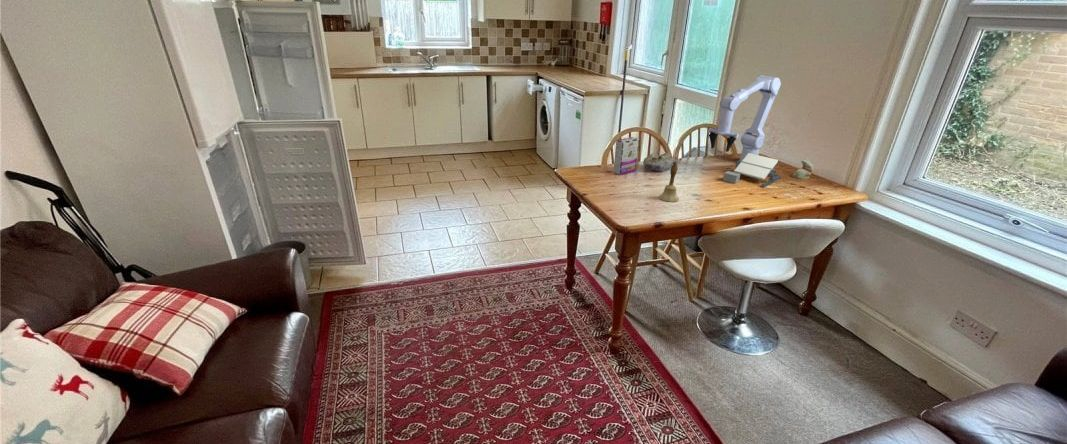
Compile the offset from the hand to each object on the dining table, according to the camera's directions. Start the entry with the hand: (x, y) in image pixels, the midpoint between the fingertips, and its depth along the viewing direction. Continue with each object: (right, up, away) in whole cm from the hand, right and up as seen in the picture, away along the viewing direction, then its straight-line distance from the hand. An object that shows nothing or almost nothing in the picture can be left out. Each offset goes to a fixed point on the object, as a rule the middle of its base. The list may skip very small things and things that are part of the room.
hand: (719, 149), depth 227 cm
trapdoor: (+13, -9, -9) cm, 19 cm away
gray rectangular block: (+3, -16, -14) cm, 22 cm away
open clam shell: (+38, -14, -4) cm, 41 cm away
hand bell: (-35, -26, -33) cm, 55 cm away
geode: (-31, -10, +2) cm, 32 cm away
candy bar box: (-48, -12, -4) cm, 50 cm away
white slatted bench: (+13, -15, -7) cm, 21 cm away
